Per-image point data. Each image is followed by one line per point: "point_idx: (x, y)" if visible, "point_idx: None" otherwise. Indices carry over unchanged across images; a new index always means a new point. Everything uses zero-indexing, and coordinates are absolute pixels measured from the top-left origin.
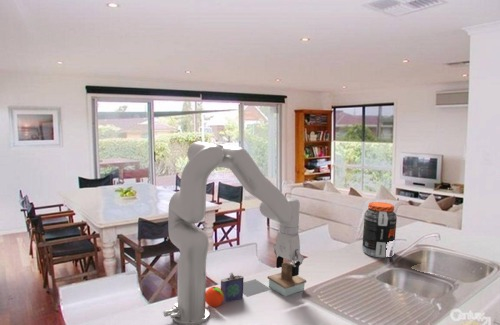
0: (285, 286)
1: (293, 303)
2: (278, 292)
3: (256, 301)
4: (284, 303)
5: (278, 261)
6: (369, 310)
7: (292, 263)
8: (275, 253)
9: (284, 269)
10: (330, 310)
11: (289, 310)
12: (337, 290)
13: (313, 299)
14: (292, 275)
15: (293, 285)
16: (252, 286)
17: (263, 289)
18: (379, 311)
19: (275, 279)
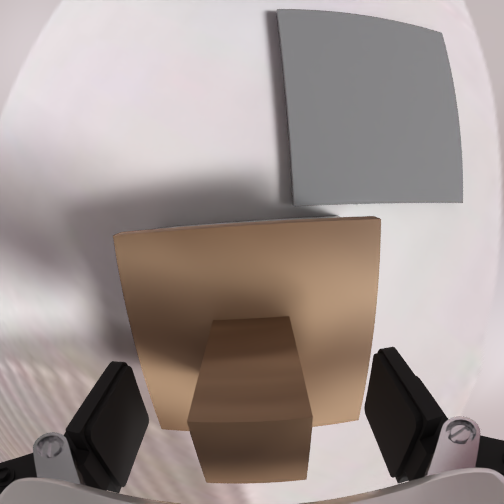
0: (117, 244)
1: (86, 235)
2: (225, 223)
3: (209, 38)
4: (104, 185)
5: (401, 408)
6: (15, 422)
7: (69, 466)
8: (500, 444)
9: (241, 379)
10: (12, 339)
11: (42, 170)
12: (147, 467)
13: (95, 355)
14: (109, 365)
15: (133, 323)
16: (393, 115)
17: (320, 151)
18: (13, 432)
19: (285, 247)
